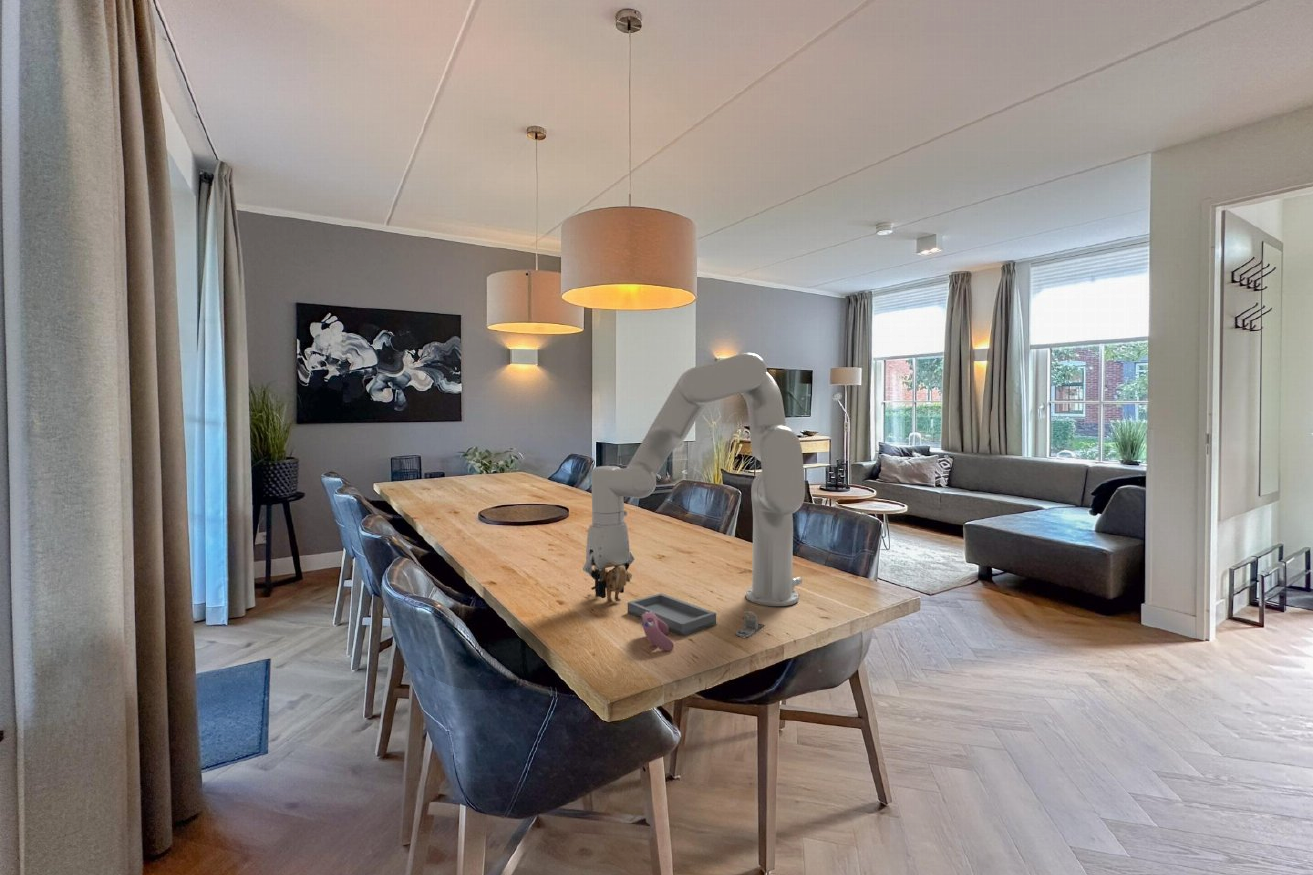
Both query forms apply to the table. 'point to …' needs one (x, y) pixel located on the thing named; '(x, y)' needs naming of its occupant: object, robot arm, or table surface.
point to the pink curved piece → (656, 631)
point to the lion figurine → (615, 582)
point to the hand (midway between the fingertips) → (609, 593)
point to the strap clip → (749, 626)
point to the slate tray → (674, 613)
